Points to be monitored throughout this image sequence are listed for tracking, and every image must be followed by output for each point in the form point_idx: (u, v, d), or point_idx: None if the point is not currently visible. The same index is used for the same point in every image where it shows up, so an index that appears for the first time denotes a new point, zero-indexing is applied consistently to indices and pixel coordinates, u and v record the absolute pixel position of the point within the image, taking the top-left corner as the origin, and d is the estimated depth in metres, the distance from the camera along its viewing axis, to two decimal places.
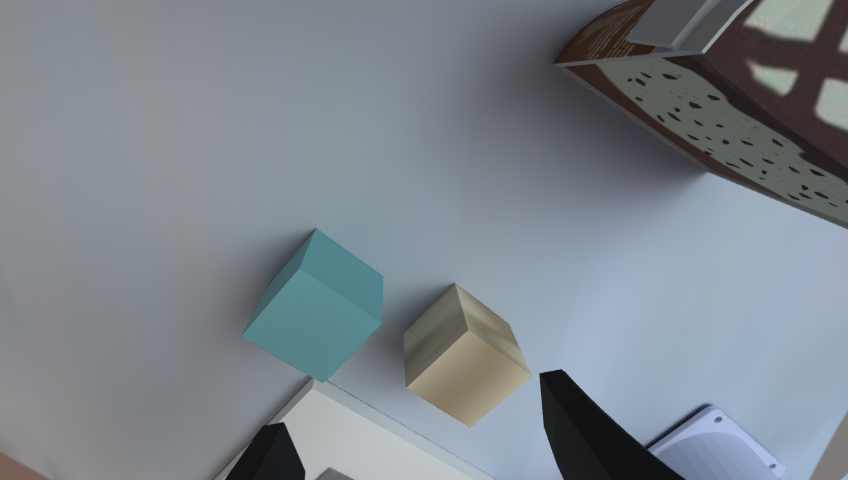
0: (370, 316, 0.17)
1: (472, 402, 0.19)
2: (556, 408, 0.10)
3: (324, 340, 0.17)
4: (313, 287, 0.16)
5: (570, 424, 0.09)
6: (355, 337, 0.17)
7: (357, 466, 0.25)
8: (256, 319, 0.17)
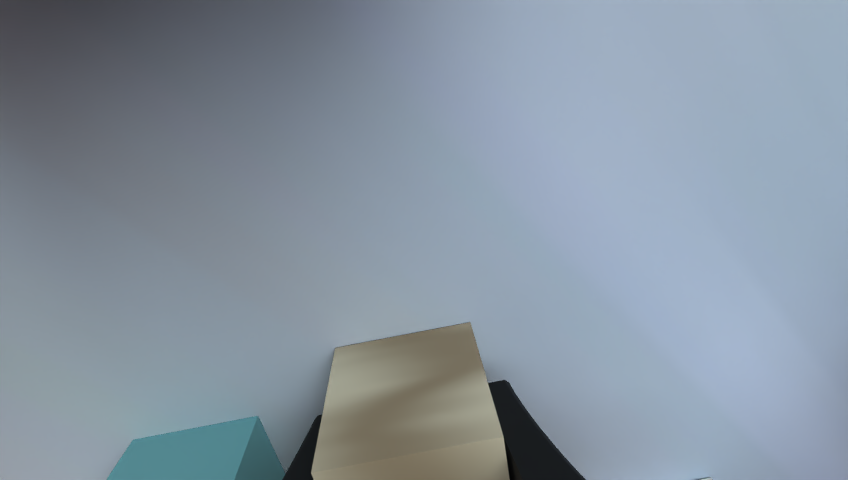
0: None
1: None
2: None
3: None
4: None
5: None
6: None
7: None
8: None
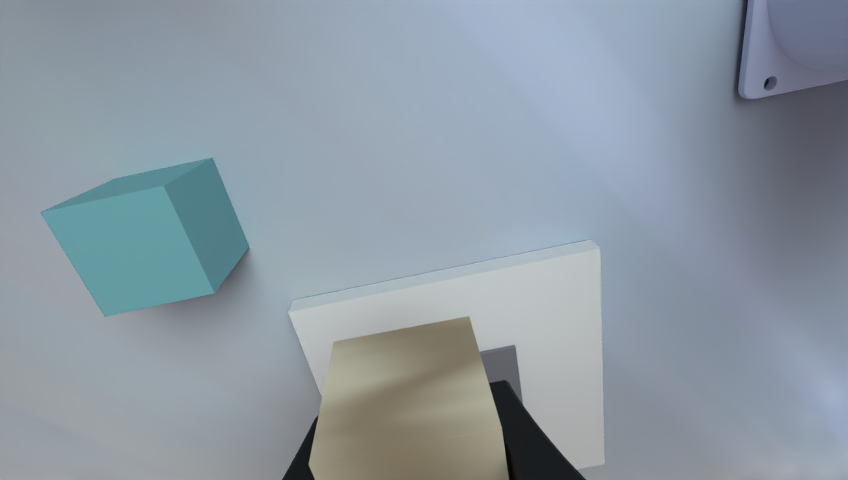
0: (146, 190, 0.13)
1: None
2: None
3: (154, 253, 0.14)
4: (73, 217, 0.13)
5: None
6: (167, 223, 0.14)
7: None
8: (90, 291, 0.14)
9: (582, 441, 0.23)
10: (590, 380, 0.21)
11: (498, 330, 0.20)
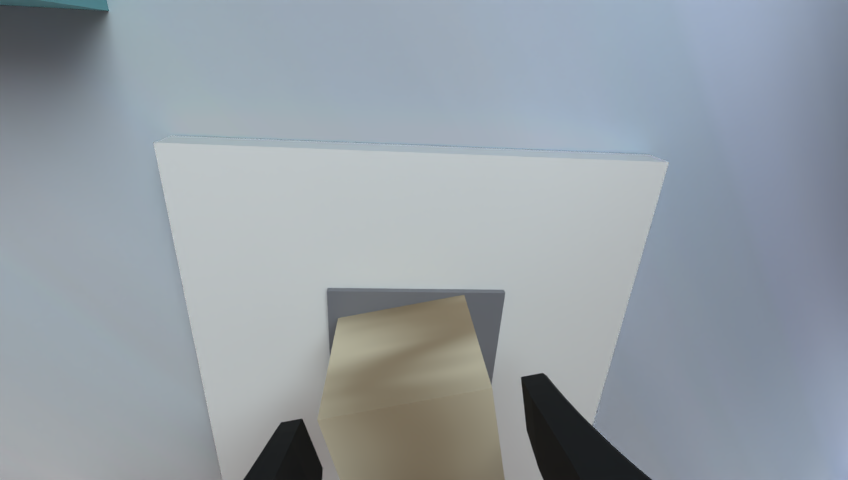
0: None
1: (463, 478, 0.11)
2: (535, 412, 0.10)
3: None
4: None
5: (548, 428, 0.09)
6: None
7: (369, 259, 0.13)
8: None
9: None
10: (591, 369, 0.15)
11: (486, 260, 0.13)
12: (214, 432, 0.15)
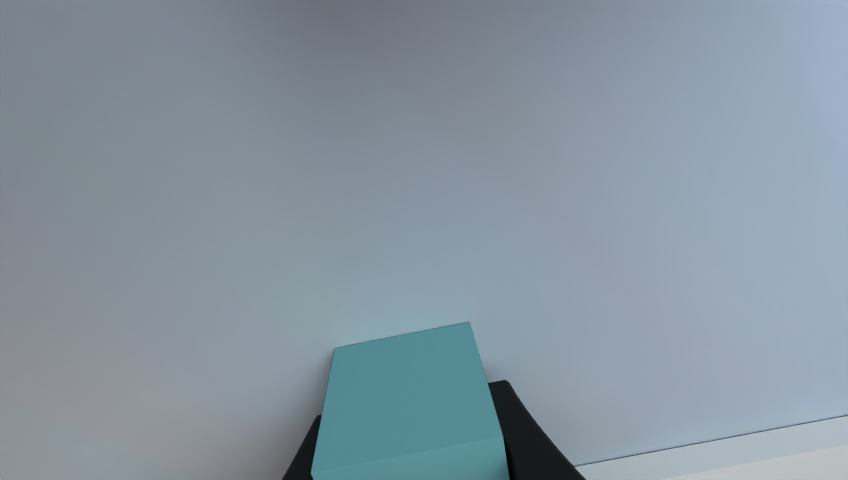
0: (475, 441, 0.09)
1: None
2: None
3: None
4: (358, 477, 0.09)
5: (503, 437, 0.09)
6: (490, 479, 0.09)
7: None
8: None
9: None
10: None
11: None
12: None
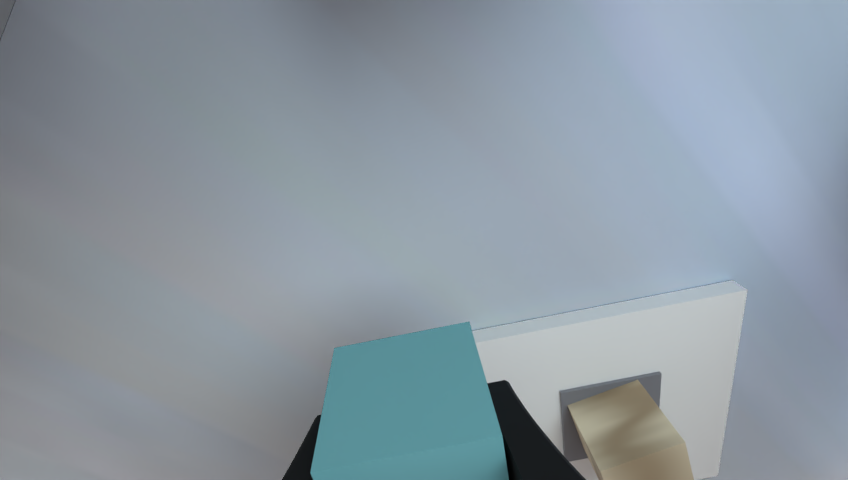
0: (475, 441, 0.09)
1: None
2: None
3: None
4: (357, 476, 0.09)
5: None
6: (489, 479, 0.09)
7: (582, 372, 0.22)
8: None
9: (702, 455, 0.26)
10: (718, 402, 0.24)
11: (648, 359, 0.22)
12: None
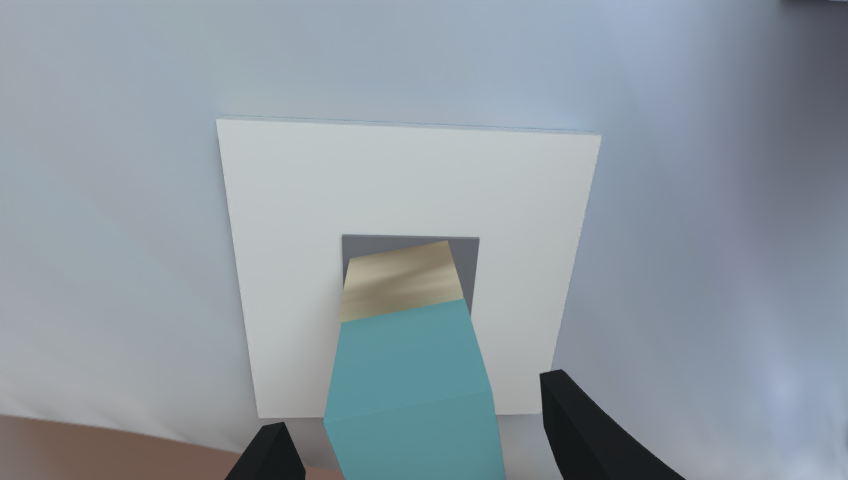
0: (467, 395, 0.10)
1: None
2: (556, 408, 0.10)
3: (450, 462, 0.11)
4: (364, 427, 0.10)
5: (570, 424, 0.09)
6: (481, 430, 0.10)
7: (374, 211, 0.16)
8: None
9: (524, 380, 0.20)
10: (550, 304, 0.19)
11: (465, 213, 0.17)
12: (250, 355, 0.19)
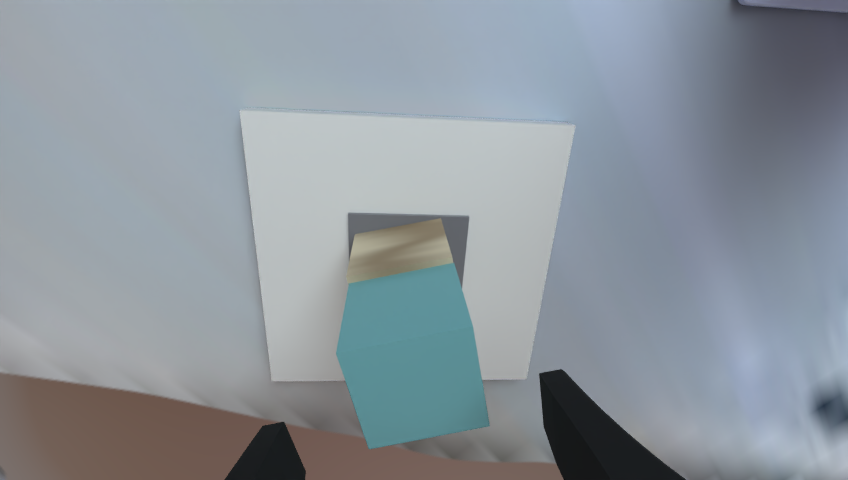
0: (453, 330, 0.12)
1: None
2: (556, 408, 0.10)
3: (440, 389, 0.13)
4: (369, 357, 0.12)
5: (570, 424, 0.09)
6: (464, 361, 0.12)
7: (376, 192, 0.19)
8: (361, 425, 0.13)
9: (511, 347, 0.23)
10: (533, 277, 0.21)
11: (456, 194, 0.19)
12: (266, 322, 0.21)
